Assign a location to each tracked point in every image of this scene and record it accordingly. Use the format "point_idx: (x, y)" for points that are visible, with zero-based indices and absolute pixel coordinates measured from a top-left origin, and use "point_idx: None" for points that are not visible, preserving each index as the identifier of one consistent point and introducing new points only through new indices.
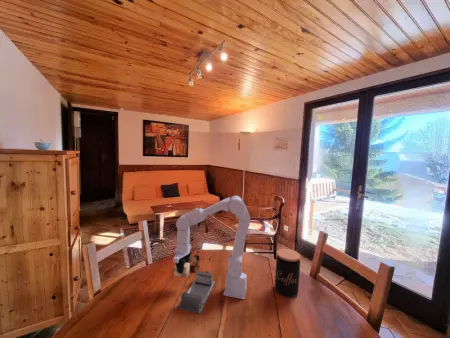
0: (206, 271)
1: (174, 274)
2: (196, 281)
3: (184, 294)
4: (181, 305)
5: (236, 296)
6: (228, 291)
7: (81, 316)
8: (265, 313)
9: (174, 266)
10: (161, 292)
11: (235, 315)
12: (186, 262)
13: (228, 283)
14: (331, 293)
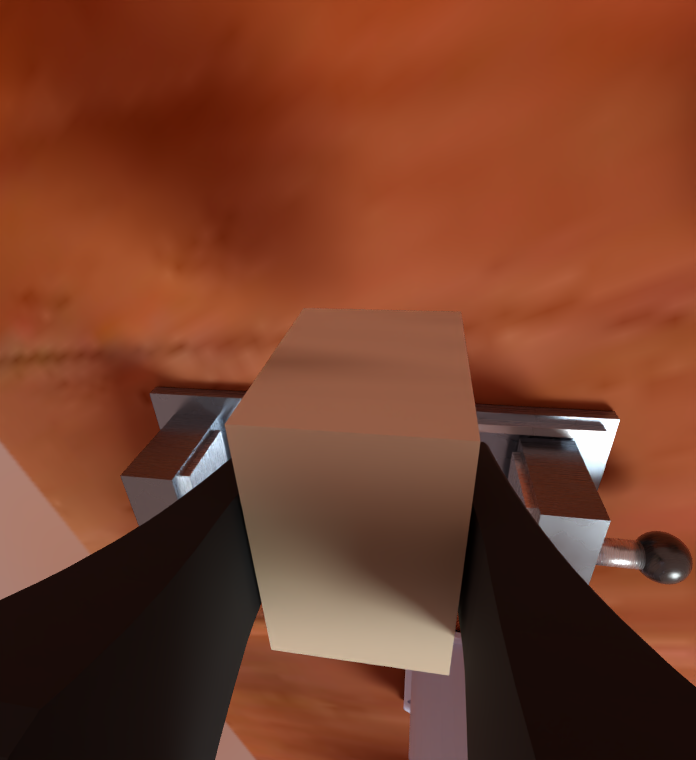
0: (660, 571)
1: (298, 324)
2: (513, 456)
3: (143, 496)
4: (174, 418)
5: (409, 686)
6: (419, 674)
7: None
8: (340, 750)
9: (240, 406)
10: (253, 113)
11: (273, 666)
12: (455, 623)
13: (421, 744)
14: None
